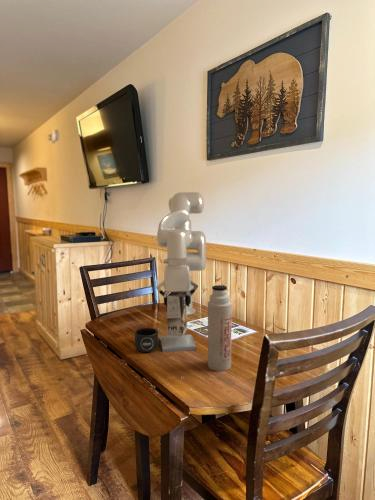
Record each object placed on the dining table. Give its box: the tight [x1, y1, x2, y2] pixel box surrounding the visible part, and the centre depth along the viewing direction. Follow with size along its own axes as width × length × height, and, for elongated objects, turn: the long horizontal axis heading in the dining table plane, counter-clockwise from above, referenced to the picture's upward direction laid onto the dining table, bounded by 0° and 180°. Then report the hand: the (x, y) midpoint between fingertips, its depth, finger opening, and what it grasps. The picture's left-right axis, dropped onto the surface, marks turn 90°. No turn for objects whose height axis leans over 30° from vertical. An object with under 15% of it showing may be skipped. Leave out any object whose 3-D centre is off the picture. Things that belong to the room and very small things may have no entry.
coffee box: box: [166, 292, 188, 337], centre depth 136 cm, size 9×6×16 cm
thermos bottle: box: [207, 284, 232, 372], centre depth 117 cm, size 8×8×28 cm
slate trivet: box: [159, 334, 197, 353], centre depth 138 cm, size 13×13×1 cm
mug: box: [134, 327, 159, 353], centre depth 134 cm, size 12×9×7 cm
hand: (177, 305), depth 136 cm, fingers closed on coffee box, 7 cm apart
